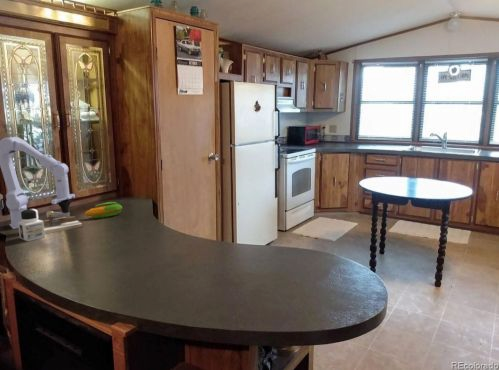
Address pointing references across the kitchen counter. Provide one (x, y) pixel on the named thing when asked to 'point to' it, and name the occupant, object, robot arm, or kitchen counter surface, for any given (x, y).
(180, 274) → the kitchen counter surface
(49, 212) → the bar
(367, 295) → the kitchen counter surface
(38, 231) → the container
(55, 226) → the brown-striped cream panel
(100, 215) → the corn
